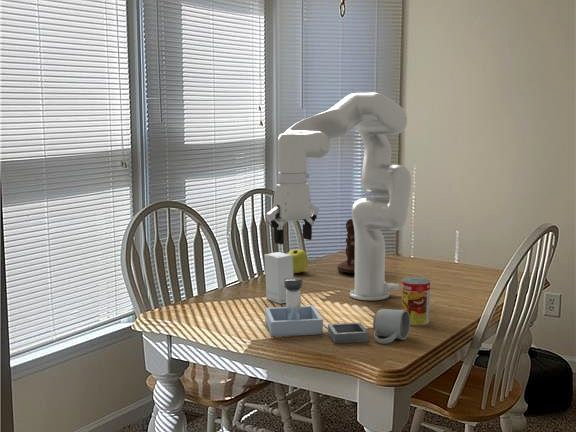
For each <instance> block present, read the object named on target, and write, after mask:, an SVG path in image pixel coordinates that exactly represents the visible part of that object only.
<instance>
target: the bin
mask: <svg viewBox="0 0 576 432" xmlns="http://www.w3.org/2000/svg"><path fill="white" fill-rule="evenodd" d="M264 310H265V313H264V315H265V316H264V319H265V324H266V328H267V329H268V332H269V334H270V337H289V336H290V337H291V336H292V337H293V336H307V335H324V326H323V325H324V321H323V317H322V316H321V315H320V313H319V312H318V311H319V310H317V308H316V307H315V305H301V320H286V306H280V307H279V306H278V307H277V306H276V307H274V306H273V307H265V308H264Z"/></svg>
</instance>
